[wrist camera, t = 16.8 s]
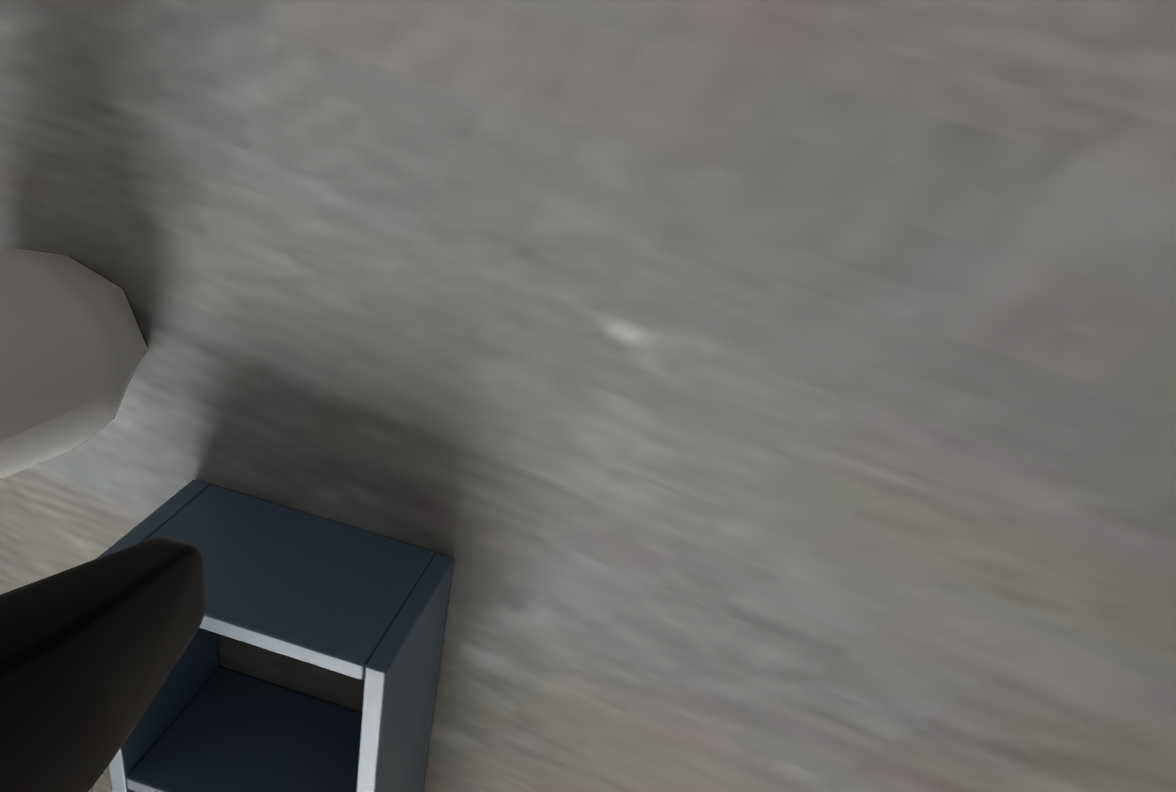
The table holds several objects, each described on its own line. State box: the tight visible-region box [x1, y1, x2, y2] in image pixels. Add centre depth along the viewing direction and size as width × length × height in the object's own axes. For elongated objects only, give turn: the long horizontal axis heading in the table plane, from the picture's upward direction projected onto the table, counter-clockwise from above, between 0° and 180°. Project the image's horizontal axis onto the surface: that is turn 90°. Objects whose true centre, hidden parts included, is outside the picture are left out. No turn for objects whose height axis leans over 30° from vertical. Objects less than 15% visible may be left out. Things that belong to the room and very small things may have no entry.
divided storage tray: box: [97, 480, 454, 792], centre depth 27 cm, size 9×17×5 cm, turn 169°
